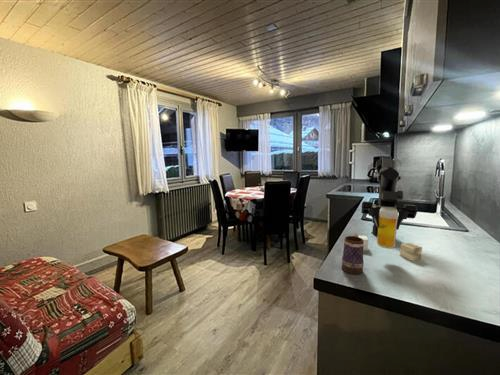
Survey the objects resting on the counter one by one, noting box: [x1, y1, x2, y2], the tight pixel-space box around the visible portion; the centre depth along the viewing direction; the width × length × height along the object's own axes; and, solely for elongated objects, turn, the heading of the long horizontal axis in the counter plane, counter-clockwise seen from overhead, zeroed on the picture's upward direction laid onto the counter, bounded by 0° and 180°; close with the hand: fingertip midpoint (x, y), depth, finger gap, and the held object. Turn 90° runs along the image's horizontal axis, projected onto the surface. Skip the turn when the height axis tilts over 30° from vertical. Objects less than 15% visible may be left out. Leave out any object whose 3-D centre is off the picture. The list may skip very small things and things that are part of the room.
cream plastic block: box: [358, 234, 369, 252], centre depth 102 cm, size 5×5×5 cm
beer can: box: [376, 207, 399, 250], centre depth 89 cm, size 6×6×15 cm
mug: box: [341, 233, 365, 276], centre depth 83 cm, size 10×7×12 cm
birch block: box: [399, 242, 423, 261], centre depth 93 cm, size 5×5×5 cm
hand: (387, 228), depth 87 cm, fingers closed on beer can, 6 cm apart
